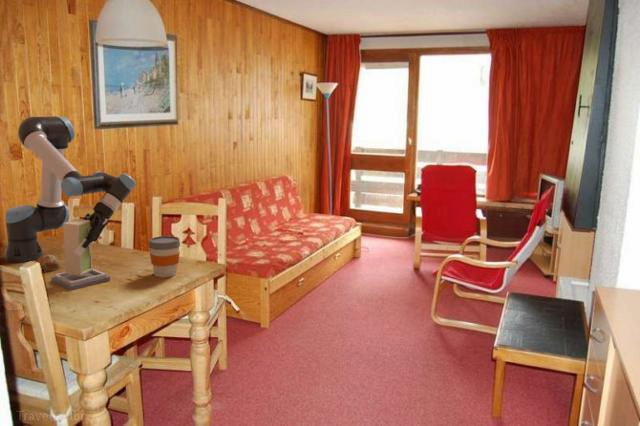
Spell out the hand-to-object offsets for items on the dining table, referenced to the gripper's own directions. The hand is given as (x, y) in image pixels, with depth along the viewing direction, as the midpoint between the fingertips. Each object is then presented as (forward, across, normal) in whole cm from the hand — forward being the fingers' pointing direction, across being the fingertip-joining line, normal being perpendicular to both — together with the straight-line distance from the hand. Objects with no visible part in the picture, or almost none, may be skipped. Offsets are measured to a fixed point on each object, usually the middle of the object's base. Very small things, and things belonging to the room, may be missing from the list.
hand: (70, 251), depth 199 cm
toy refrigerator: (+5, 0, -9) cm, 10 cm away
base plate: (+7, 0, -11) cm, 13 cm away
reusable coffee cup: (-13, -17, -31) cm, 38 cm away
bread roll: (+9, +25, -10) cm, 28 cm away
